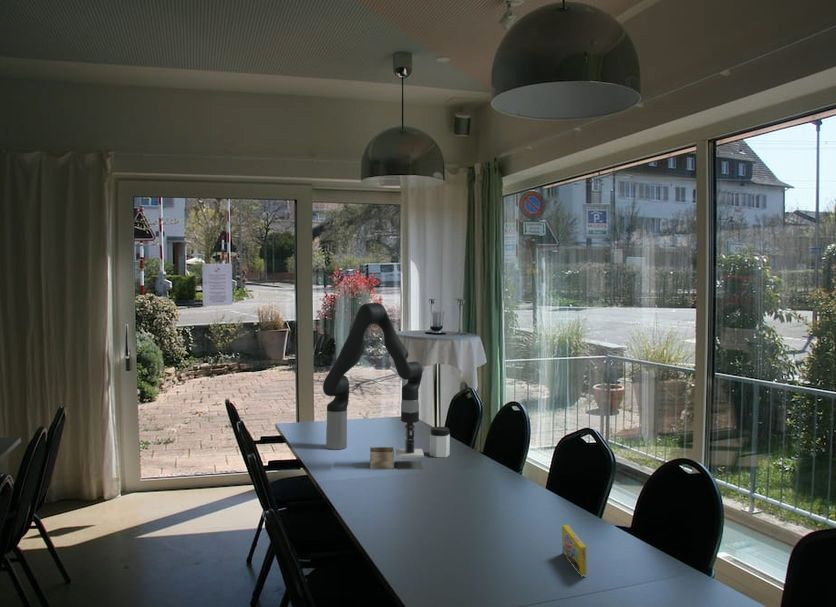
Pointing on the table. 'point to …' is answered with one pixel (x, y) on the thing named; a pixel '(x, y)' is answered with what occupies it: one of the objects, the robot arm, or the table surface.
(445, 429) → the jar
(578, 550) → the candy box
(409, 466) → the mat
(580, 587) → the table surface
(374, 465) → the crate
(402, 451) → the lid
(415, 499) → the table surface
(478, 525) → the table surface
